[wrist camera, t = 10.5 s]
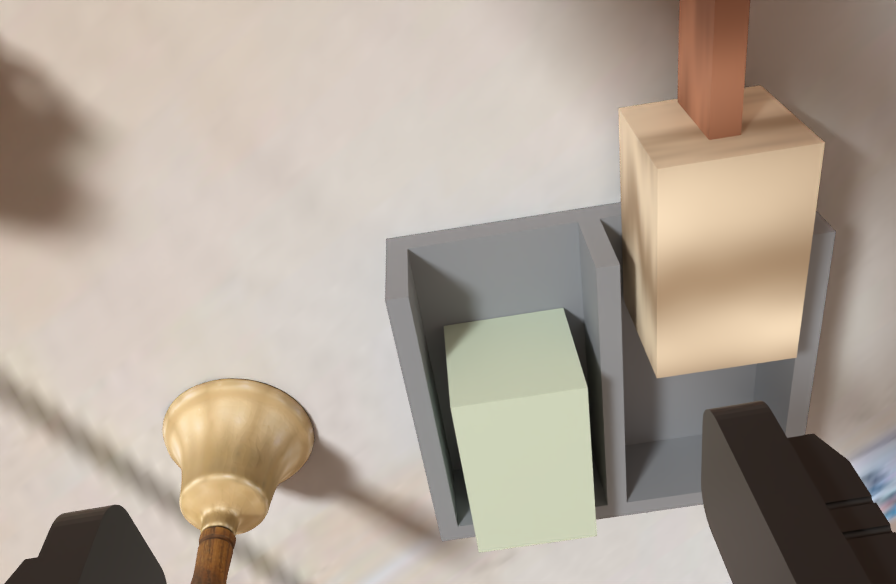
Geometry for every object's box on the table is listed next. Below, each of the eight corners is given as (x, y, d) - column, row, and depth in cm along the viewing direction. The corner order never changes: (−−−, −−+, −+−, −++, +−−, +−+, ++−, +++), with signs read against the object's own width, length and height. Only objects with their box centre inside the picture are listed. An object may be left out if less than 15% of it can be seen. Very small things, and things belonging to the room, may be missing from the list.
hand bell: (311, 378, 42) (273, 658, 29) (316, 485, 47) (284, 768, 34) (153, 376, 42) (40, 661, 28) (173, 484, 46) (84, 774, 33)
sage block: (443, 325, 39) (450, 407, 34) (563, 307, 39) (587, 387, 34) (469, 464, 45) (479, 552, 40) (574, 449, 45) (596, 536, 40)
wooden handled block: (610, -194, 27) (658, -184, 22) (785, -225, 27) (873, -221, 22) (623, 299, 39) (656, 378, 34) (745, 281, 39) (796, 357, 34)
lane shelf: (386, 238, 38) (385, 300, 33) (784, 176, 37) (835, 231, 33) (437, 469, 47) (441, 541, 42) (758, 422, 46) (796, 491, 42)
